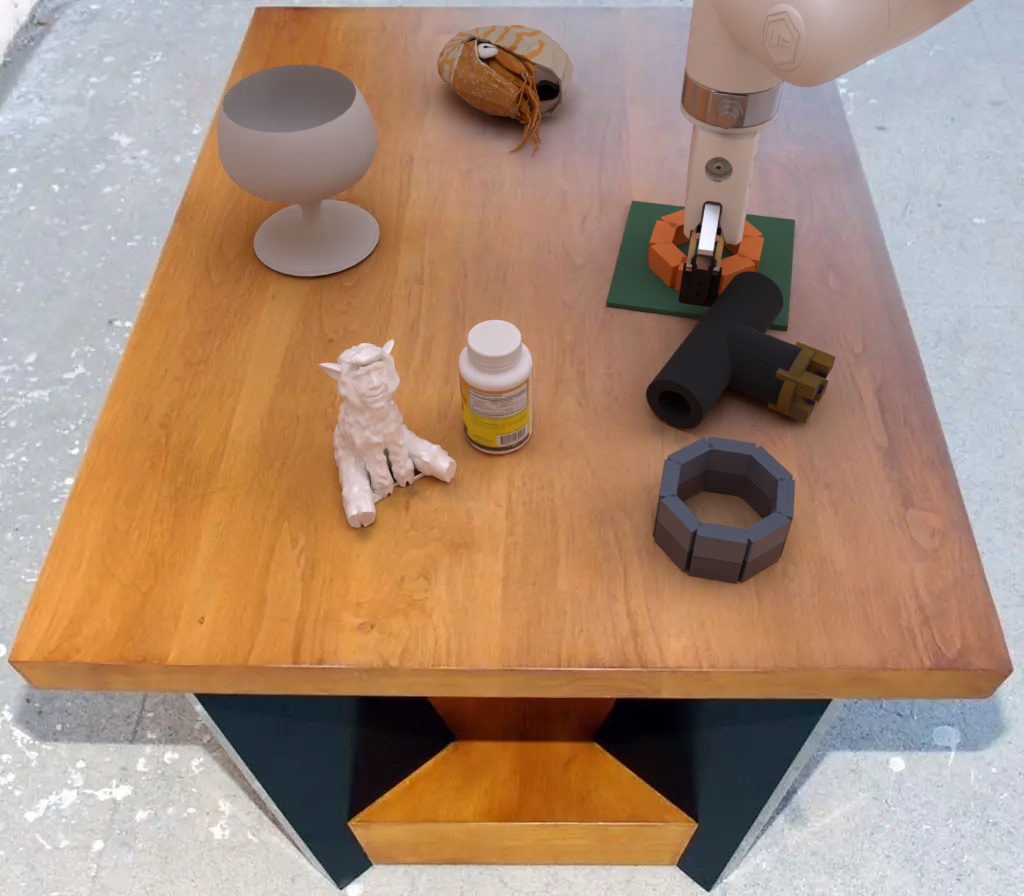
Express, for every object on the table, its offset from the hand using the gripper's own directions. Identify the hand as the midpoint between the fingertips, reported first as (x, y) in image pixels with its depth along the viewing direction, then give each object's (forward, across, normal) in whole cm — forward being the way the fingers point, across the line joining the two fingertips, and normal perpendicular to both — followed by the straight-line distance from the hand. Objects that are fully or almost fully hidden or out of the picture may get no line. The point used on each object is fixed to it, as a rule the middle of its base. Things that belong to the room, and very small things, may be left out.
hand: (702, 268), depth 90 cm
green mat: (+2, +4, 0) cm, 5 cm away
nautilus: (+3, +26, +24) cm, 35 cm away
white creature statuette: (+3, -27, +22) cm, 35 cm away
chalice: (+3, 0, +37) cm, 37 cm away
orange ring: (+2, +4, 0) cm, 4 cm away
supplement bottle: (+3, -21, +14) cm, 25 cm away
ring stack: (+2, -27, -4) cm, 28 cm away
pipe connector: (+2, -12, -5) cm, 13 cm away
